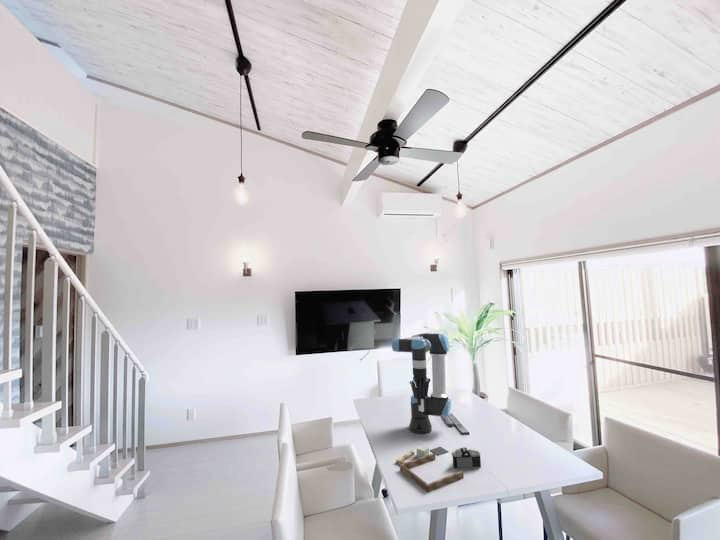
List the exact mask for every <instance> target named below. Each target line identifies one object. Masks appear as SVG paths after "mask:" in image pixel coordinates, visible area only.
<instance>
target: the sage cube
mask: <svg viewBox="0 0 720 540" xmlns="http://www.w3.org/2000/svg"><path fill="white" fill-rule="evenodd" d="M427 455H430V448H429V446H425V445H419V446H418V447H417V448H416V459H418V458H421V457H424V456H427Z"/></svg>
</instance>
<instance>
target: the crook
mask: <svg viewBox="0 0 720 540" xmlns="http://www.w3.org/2000/svg"><path fill="white" fill-rule="evenodd" d="M414 456H415V451H413V450H411V451H409V452H408V453H406V454H404V455H403V456H401V457H399V458H398V459H396V460H395V463H396V464H397V465H398V466H400V465H401V464H404V463H407V460H409V459H410V458H412V457H414Z"/></svg>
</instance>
